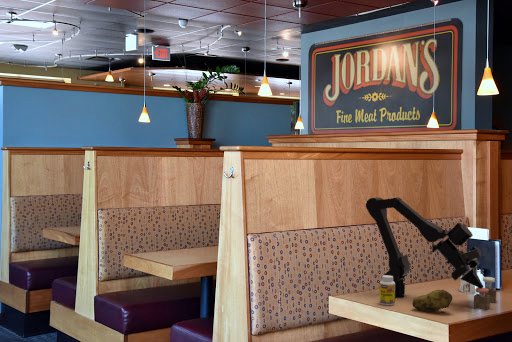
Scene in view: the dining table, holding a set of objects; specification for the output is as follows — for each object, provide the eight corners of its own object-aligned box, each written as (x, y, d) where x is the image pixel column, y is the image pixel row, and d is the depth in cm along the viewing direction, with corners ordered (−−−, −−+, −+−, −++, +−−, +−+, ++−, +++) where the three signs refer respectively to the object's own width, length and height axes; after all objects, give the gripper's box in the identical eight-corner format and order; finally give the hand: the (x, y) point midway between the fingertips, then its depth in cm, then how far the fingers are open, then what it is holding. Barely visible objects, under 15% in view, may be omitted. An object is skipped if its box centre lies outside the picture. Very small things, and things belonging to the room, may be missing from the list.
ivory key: (483, 292, 233) (484, 278, 233) (481, 290, 237) (482, 276, 237) (495, 293, 232) (495, 279, 232) (493, 290, 236) (493, 277, 236)
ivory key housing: (482, 301, 233) (483, 290, 233) (480, 299, 237) (481, 287, 237) (495, 302, 232) (496, 290, 232) (493, 299, 236) (493, 288, 236)
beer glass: (477, 293, 247) (478, 256, 246) (459, 292, 248) (460, 255, 248) (475, 290, 254) (476, 253, 253) (457, 289, 255) (458, 252, 255)
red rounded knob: (474, 303, 223) (474, 288, 222) (477, 301, 226) (477, 286, 226) (486, 305, 220) (487, 290, 220) (489, 302, 224) (489, 288, 224)
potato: (421, 306, 224) (421, 284, 224) (455, 312, 215) (455, 290, 215) (409, 310, 218) (410, 287, 218) (444, 317, 209) (444, 293, 209)
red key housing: (473, 308, 223) (473, 296, 222) (476, 305, 226) (476, 293, 226) (486, 310, 220) (487, 297, 220) (489, 307, 224) (490, 295, 224)
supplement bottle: (378, 305, 225) (378, 276, 225) (380, 301, 230) (380, 274, 230) (394, 306, 223) (394, 278, 223) (395, 303, 228) (396, 275, 228)
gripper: (461, 242, 218) (493, 277, 212) (474, 237, 233) (504, 269, 228) (438, 262, 222) (469, 297, 216) (452, 256, 238) (481, 288, 232)
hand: (482, 287), depth 223 cm, fingers closed
